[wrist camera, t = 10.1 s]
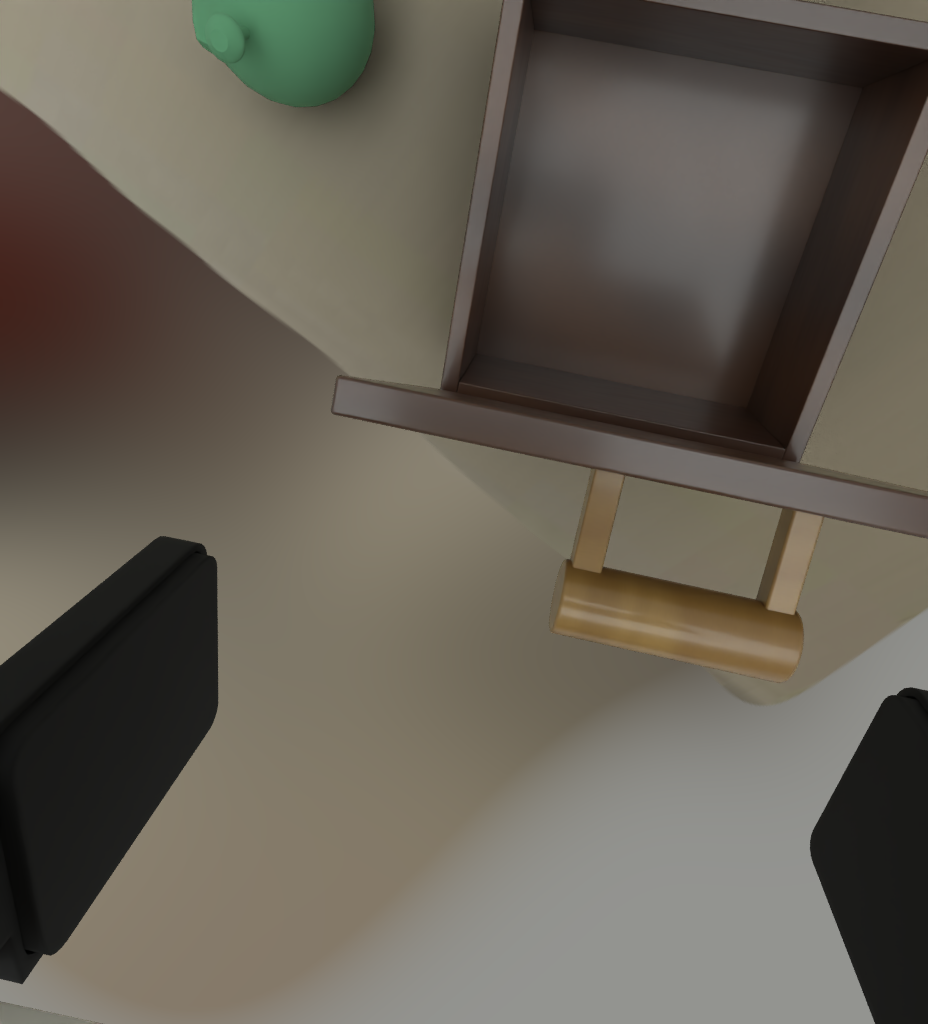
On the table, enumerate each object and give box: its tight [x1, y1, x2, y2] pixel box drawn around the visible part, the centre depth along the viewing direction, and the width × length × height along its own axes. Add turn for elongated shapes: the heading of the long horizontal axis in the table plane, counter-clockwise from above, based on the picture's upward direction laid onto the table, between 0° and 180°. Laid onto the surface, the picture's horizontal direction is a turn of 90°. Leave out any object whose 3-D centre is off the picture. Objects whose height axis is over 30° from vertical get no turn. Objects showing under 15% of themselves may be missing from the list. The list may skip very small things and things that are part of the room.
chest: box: [440, 0, 928, 463], centre depth 31 cm, size 17×17×8 cm
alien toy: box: [192, 0, 375, 107], centre depth 28 cm, size 7×8×10 cm
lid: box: [331, 375, 928, 683], centre depth 22 cm, size 17×17×5 cm
